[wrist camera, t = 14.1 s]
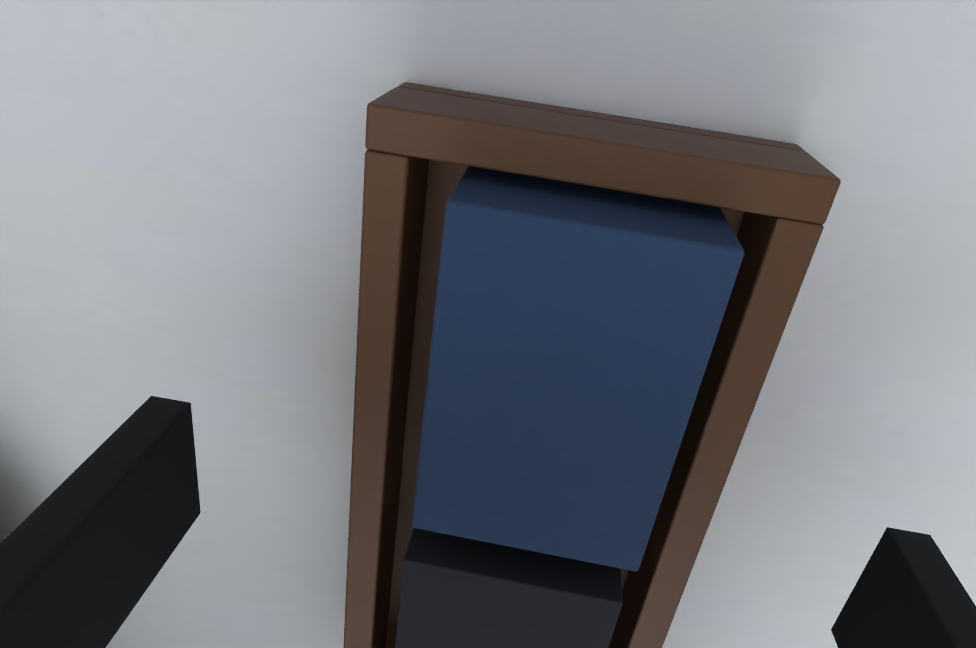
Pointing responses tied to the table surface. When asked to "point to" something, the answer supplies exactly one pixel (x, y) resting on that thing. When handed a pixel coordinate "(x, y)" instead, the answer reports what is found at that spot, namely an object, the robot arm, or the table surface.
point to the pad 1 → (565, 361)
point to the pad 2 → (502, 597)
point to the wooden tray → (412, 295)
